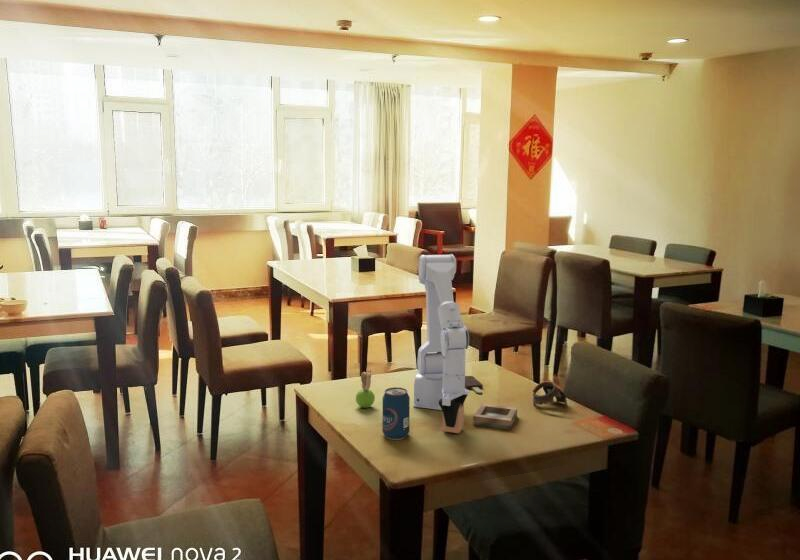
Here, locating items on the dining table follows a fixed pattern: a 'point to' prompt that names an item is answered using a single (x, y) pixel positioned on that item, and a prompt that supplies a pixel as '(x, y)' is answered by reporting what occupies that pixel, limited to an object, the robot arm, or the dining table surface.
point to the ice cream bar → (473, 384)
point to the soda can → (396, 413)
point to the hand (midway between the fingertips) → (453, 423)
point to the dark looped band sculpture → (549, 393)
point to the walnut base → (495, 416)
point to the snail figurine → (365, 391)
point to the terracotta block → (458, 423)
